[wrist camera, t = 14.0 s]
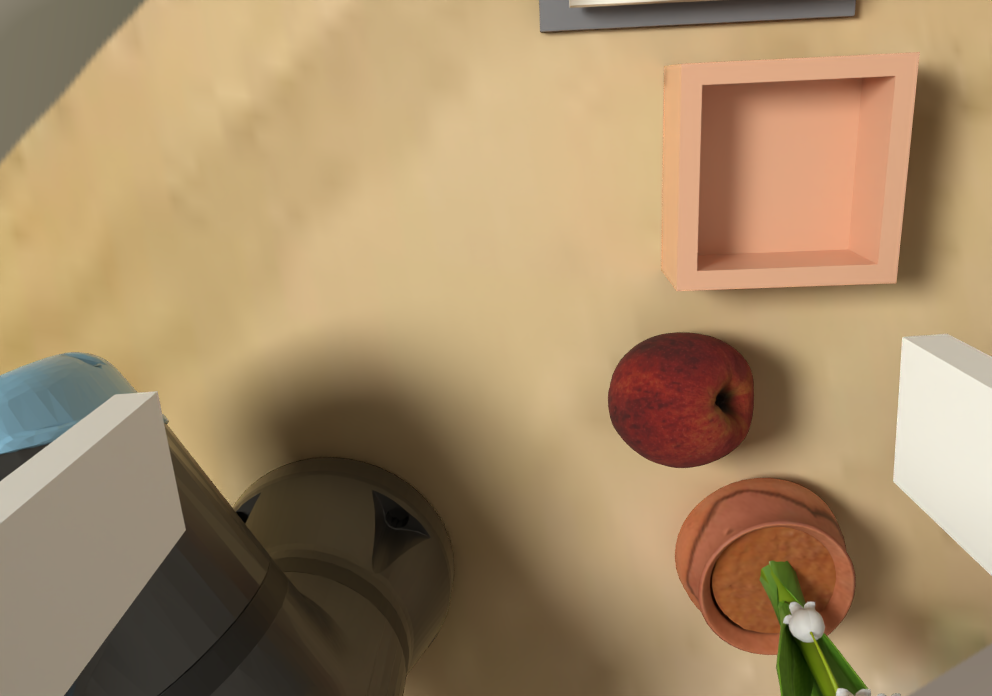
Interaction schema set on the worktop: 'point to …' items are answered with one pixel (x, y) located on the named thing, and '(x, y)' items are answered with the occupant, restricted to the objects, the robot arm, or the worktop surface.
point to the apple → (682, 399)
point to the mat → (685, 13)
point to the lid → (620, 2)
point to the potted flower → (773, 580)
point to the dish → (786, 171)
